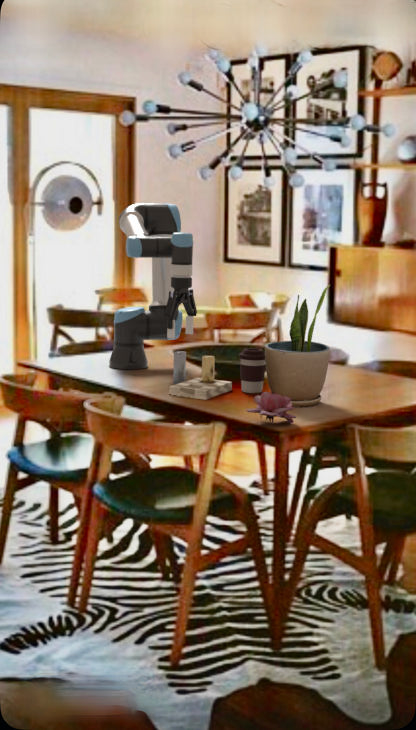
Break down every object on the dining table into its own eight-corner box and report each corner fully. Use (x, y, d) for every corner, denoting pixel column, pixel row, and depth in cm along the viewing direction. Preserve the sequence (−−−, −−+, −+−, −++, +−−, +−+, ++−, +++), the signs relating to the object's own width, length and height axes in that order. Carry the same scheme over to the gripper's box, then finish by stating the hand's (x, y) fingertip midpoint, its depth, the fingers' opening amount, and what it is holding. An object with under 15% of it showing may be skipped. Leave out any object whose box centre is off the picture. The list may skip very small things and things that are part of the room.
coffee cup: (233, 389, 359) (234, 347, 356) (258, 388, 362) (259, 346, 360) (245, 395, 350) (246, 352, 347) (270, 393, 354) (272, 351, 351)
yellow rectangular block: (204, 388, 359) (205, 355, 357) (215, 389, 357) (216, 356, 355) (199, 390, 355) (199, 356, 353) (210, 391, 353) (211, 358, 351)
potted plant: (281, 411, 325) (286, 287, 318) (252, 398, 345) (256, 280, 338) (338, 407, 334) (344, 286, 327) (306, 394, 353) (311, 280, 346)
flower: (276, 422, 296) (279, 389, 297) (237, 420, 306) (241, 388, 307) (305, 429, 307) (309, 397, 308) (268, 427, 317) (271, 396, 318)
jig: (196, 385, 364) (196, 377, 363) (231, 390, 357) (231, 381, 357) (169, 394, 346) (169, 386, 346) (205, 399, 340) (205, 390, 339)
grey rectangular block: (176, 383, 368) (177, 350, 365) (187, 384, 366) (188, 351, 364) (170, 385, 364) (171, 352, 362) (181, 386, 362) (182, 353, 360)
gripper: (188, 274, 371) (187, 331, 374) (154, 278, 349) (153, 338, 352) (207, 275, 367) (205, 333, 371) (173, 279, 345) (172, 340, 349)
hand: (180, 336), depth 361 cm, fingers open, 13 cm apart
